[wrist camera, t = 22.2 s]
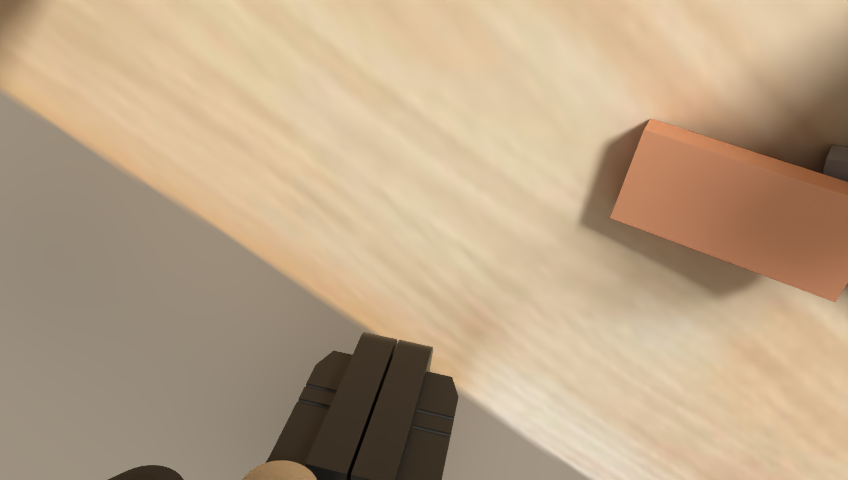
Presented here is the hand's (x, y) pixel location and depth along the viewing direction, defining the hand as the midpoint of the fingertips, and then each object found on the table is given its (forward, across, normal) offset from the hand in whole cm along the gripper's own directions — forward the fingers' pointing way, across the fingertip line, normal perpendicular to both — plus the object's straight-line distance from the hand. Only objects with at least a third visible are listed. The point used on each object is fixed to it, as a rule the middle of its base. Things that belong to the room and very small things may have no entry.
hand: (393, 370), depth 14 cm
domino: (+22, -8, +3) cm, 24 cm away
